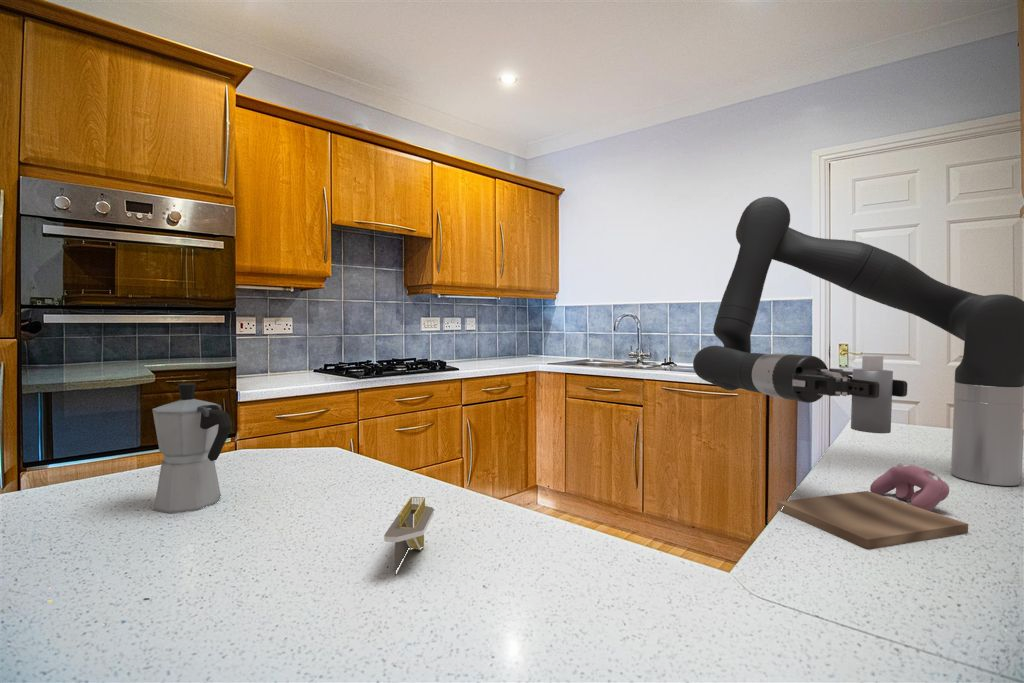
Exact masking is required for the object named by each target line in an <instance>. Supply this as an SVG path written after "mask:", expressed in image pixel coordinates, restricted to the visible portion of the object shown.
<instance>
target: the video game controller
mask: <svg viewBox="0 0 1024 683" xmlns="http://www.w3.org/2000/svg"><path fill="white" fill-rule="evenodd" d="M915 487H918V488H920V489H918V490H916V491H915ZM893 490H895V496H896V497H898V498H899V499H901V500H903V501H906V502H907V501H911V502H910V504H909V505H912V506H915V507H918V508H921V509H924V510H928V511H932V510H933V509H935V508H936V506H938V505H939V504H940V503H941V502H942V501H944V500H946V498H947V497H948V496H949V494H950V486H949V485H948V483H947V482H945V481H944V480H943V479H941V478H940V476H938V475H937V474H936V473H934V472H932V471H930V470H928V469H926V468H924V467H920V466H918V465H914V464H913V465H912V464H910V465H906V464H905V465H903V464H901V463H897V464H896V465H895V466H892V467H890V468H889V469H888V470H887V471H886V472H884V473H883V474H881V475H880V476H879V477H877V478H876V479H874V480H873V482H872V483H871V485H870V487H869V492H872V493H876V494H879V495H884V494H887V493H889V492H892V491H893Z"/></svg>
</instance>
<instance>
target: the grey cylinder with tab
mask: <svg viewBox="0 0 1024 683" xmlns="http://www.w3.org/2000/svg"><path fill="white" fill-rule="evenodd" d="M861 361H862V362H861V368H853V369H852V371H853V375H851V376H852V379H858V380H867V381H875V382H878V383H879V397H877V398H868V397H861V396H854V395H851V408H850V409H851V411H850V412H851V413H850V429H852V430H853V431H857V432H862V433H869V434H890V433H891V432H892V407H893V404H892V403H893V396H892V383H893V380H894V371H893V370H888V369H884V356H883V355H862V360H861Z"/></svg>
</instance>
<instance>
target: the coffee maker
mask: <svg viewBox="0 0 1024 683" xmlns="http://www.w3.org/2000/svg"><path fill="white" fill-rule="evenodd" d="M177 387H178V392H179V396H180V399H178V400H176V401H173V402H172V401H171V402H170V403H166V404H163V405H160V406H157V407H155V408H152V409H151V410H152V415H153V422H154V426H155V432H156V438H157V444H158V450H159V452H160V453H161V454H163V460H162V462H161V464H160V471H159V476H158V482H157V489H156V495H155V499H154V500H155V501H154V505H153V506H154V507H153V511H156V512H161V513H165V514H169V515H170V514H171V515H172V514H179V513H178V512H180V513H187V512H186V511H189V512H195V511H194V510H197V511H199V510H198V509H200V510H202V509H201V508H203V507H206V506H208V507H210V506H209V505H211V506H213V505H212V504H214V503H217V502H218V501H219V502H220V500H219V499H221V497H222V494H221V489H220V483H219V478H218V474H217V468H216V464H215V463H216V462H215V461H217V459H218V458H219V456H220V454H221V452H222V450H223V448H224V446H225V443H226V441H227V439H228V437H229V435H230V432H231V430H232V428H233V423H232V421H231V418H230V415H229V413H228V412H227V411H225V410H223V408H222V406H221V405H220V404H217V403H214V402H210V401H206V400H201V399H197V398H195V393H196V387H197V383H193V382H191V383H189V382H186V383H177ZM220 496H221V497H220ZM219 502H218V503H219ZM218 503H217V504H218ZM214 505H215V504H214ZM206 508H207V507H206ZM203 509H204V508H203Z"/></svg>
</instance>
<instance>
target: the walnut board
mask: <svg viewBox="0 0 1024 683" xmlns="http://www.w3.org/2000/svg"><path fill="white" fill-rule="evenodd" d="M788 500H789V501H788ZM776 502H777V505H776V510H778V511H780V510H781V509H782V507H783V506H784V507H783V509H782V511H780V512H782V513H785V514H786V515H789V516H792V517H793V518H795V519H798V520H800V521H802V522H805V523H806V524H809V525H811V526H813V527H816V528H818V529H821V530H823V531H825V532H828V533H829V534H832V535H834V536H836V537H839V538H840V539H843V540H846V541H848V542H850V543H852V544H854V545H857V546H859V547H861V548H864V549H866V550H870V549H876V548H877V549H878V548H883V547H889V546H895V545H900V544H907V543H914V542H920V541H926V540H931V539H932V540H933V539H938V538H945V537H949V536H955V535H962V534H963V535H964V534H969V523H967V522H964V521H961V520H958V519H956V518H952V517H948V516H946V515H942V514H939V513H936V512H933V511H932V510H930V511H928V510H924V509H921V508H918V507H915V506H912V505H910V504H909V503H906V502H904V501H900V500H896V499H894V498H890V497H888V496H885V495H883V494H881V495H879V494H876V493H872V492H871V491H870V490H865V491H855V492H847V493H838V494H831V495H823V496H822V495H820V496H814V497H813V496H811V497H805V498H796V499H787V500H780V501H779V500H778V501H776Z"/></svg>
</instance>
